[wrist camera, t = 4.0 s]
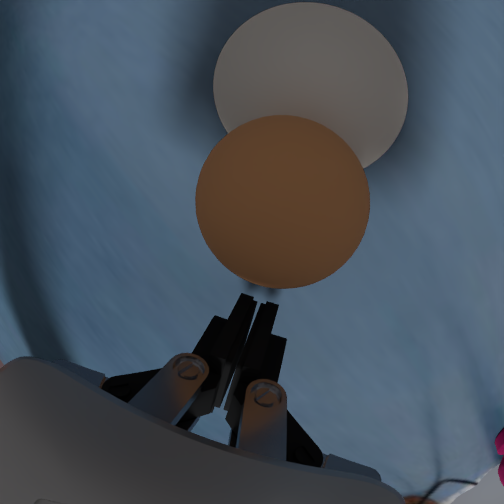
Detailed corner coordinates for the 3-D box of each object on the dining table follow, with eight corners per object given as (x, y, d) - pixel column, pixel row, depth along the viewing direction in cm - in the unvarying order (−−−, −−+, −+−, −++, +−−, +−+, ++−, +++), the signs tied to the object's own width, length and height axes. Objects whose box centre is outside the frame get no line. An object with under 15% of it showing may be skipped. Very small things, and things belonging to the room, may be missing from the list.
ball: (234, 84, 5) (284, 76, 9) (136, 246, 8) (207, 175, 12) (423, 259, 6) (391, 173, 10) (276, 346, 9) (301, 250, 13)
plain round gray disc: (236, 193, 12) (235, 194, 12) (199, 29, 9) (197, 27, 9) (421, 168, 10) (423, 168, 10) (376, -3, 7) (377, -4, 7)
